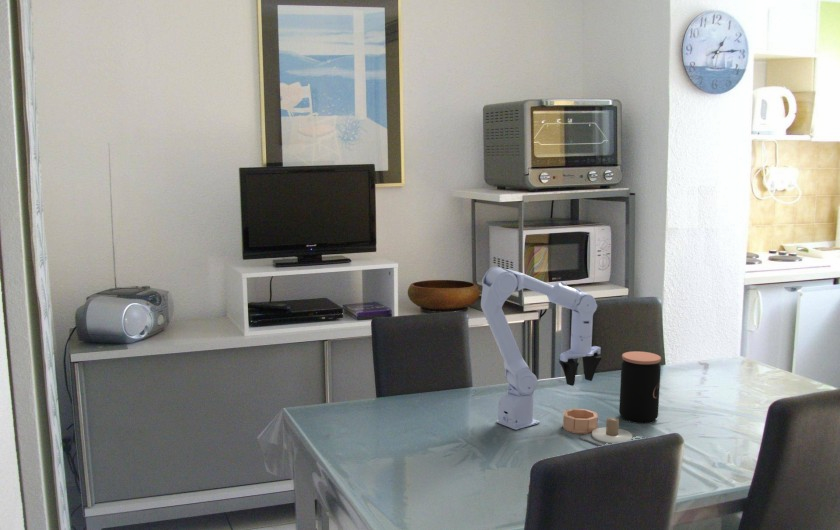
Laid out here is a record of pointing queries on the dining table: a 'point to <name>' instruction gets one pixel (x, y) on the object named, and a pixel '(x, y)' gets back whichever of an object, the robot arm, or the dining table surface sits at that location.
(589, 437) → the mat
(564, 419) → the bowl
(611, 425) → the lid
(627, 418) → the coffee jar
